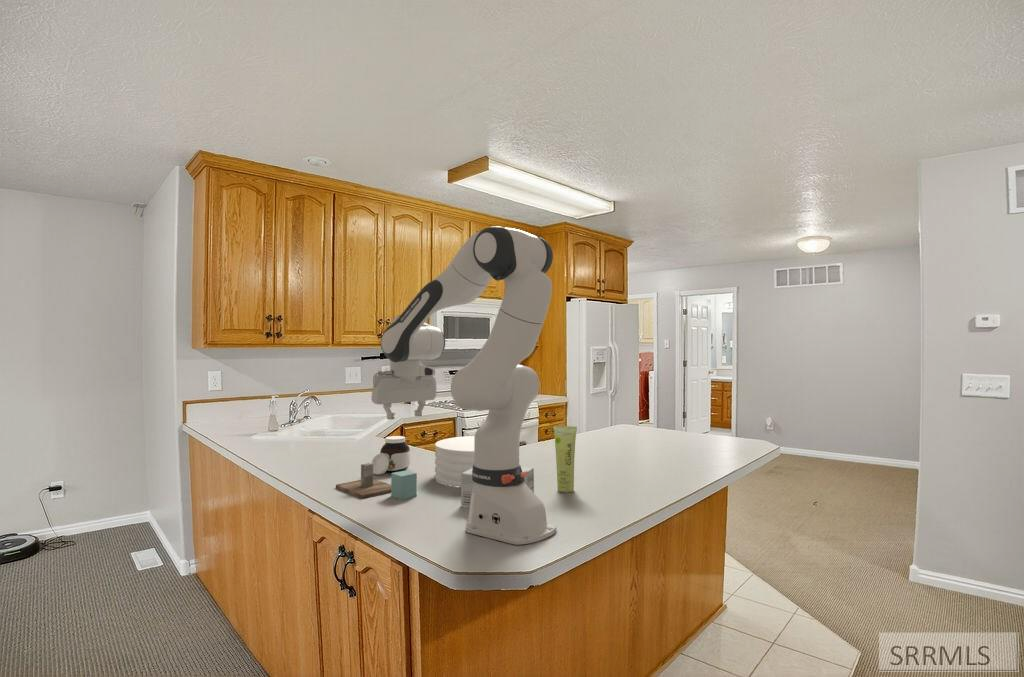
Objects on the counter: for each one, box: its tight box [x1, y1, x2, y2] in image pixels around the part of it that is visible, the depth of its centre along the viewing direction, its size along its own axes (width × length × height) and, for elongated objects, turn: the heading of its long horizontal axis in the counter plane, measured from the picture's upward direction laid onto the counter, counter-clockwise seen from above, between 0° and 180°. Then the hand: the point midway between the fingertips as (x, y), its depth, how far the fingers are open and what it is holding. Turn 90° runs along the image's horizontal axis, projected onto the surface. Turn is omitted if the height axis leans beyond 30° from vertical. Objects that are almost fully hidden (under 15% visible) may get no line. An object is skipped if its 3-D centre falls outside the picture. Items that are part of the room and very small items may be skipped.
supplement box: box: [460, 466, 535, 508], centre depth 145 cm, size 17×13×9 cm
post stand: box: [335, 462, 391, 499], centre depth 158 cm, size 16×12×8 cm
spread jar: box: [370, 435, 411, 476], centre depth 180 cm, size 12×11×12 cm
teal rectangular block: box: [390, 469, 418, 500], centre depth 151 cm, size 5×5×7 cm
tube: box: [552, 425, 578, 493], centre depth 158 cm, size 6×5×20 cm
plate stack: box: [434, 435, 475, 488], centre depth 174 cm, size 28×28×12 cm
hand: (404, 417), depth 152 cm, fingers open, 8 cm apart
